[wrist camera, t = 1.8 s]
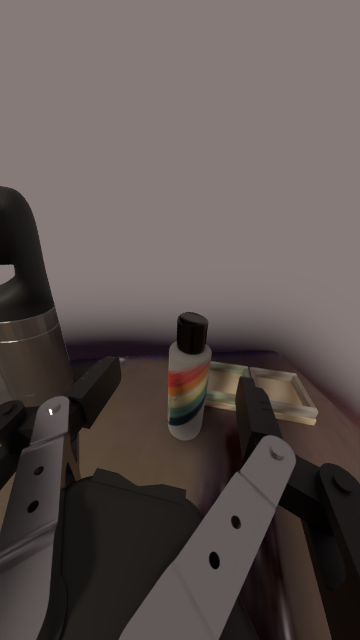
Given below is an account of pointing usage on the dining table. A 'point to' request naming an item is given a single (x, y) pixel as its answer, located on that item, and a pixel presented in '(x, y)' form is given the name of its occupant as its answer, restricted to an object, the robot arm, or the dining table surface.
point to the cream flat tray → (278, 385)
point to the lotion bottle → (188, 376)
